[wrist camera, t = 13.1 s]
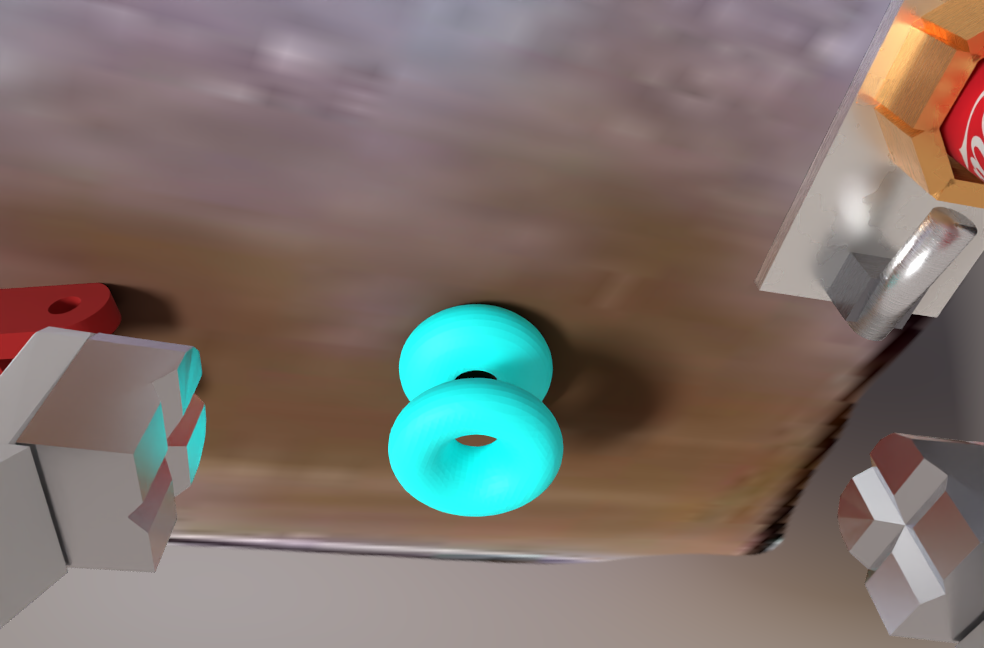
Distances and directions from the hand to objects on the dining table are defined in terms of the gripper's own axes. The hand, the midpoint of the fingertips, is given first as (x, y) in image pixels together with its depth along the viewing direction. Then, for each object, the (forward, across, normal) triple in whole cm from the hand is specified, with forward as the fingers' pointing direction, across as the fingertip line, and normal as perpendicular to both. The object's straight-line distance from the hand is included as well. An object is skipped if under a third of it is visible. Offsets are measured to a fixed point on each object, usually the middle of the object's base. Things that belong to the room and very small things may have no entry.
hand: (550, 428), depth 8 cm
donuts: (+31, -3, +24) cm, 39 cm away
